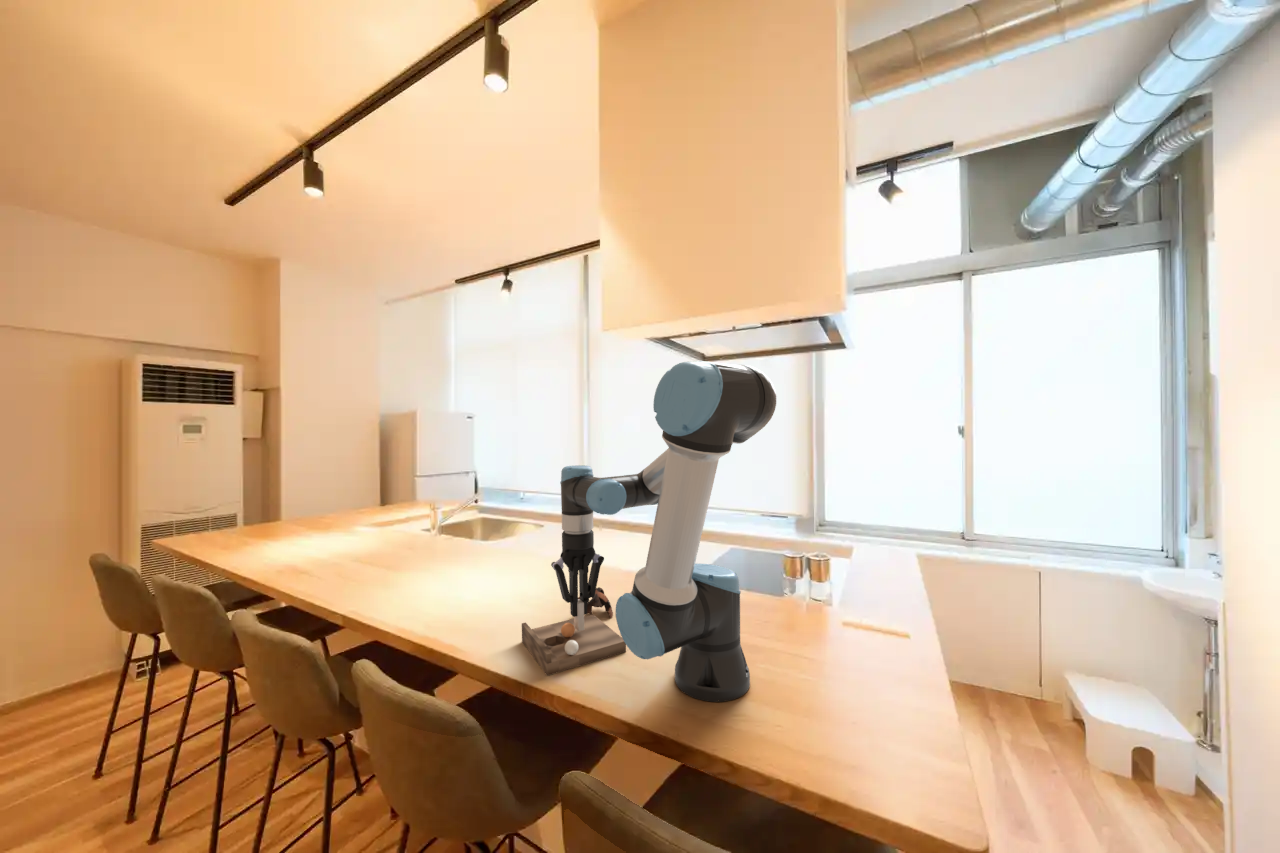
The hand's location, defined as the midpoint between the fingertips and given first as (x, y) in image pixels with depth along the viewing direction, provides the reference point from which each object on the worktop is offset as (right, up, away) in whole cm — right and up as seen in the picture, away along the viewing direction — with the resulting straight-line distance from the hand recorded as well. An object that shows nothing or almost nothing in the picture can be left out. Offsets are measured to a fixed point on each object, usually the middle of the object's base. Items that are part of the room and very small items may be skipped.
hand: (579, 628), depth 112 cm
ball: (-2, 0, -1) cm, 3 cm away
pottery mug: (+2, -4, +17) cm, 18 cm away
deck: (-1, -4, -1) cm, 4 cm away
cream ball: (0, 0, -10) cm, 10 cm away
